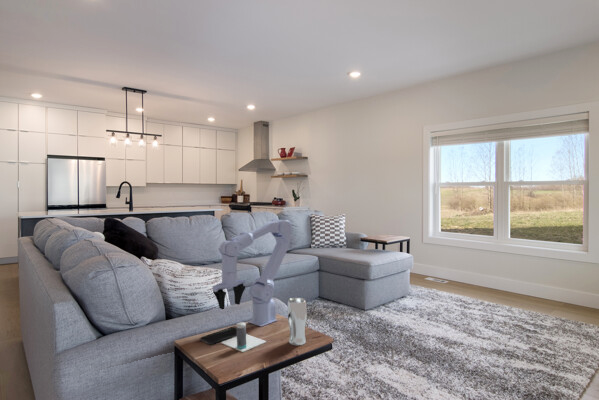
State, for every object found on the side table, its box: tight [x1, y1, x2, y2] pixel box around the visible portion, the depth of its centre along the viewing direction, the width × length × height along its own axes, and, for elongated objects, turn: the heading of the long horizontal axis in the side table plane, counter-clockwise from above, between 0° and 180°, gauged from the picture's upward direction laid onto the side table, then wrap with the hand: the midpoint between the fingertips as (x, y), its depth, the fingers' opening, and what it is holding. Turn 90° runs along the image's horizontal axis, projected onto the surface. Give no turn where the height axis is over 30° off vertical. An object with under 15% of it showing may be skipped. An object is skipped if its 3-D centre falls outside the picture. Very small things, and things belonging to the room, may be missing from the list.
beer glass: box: [286, 297, 308, 346], centre depth 128 cm, size 7×7×15 cm
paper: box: [220, 333, 267, 353], centre depth 128 cm, size 11×12×1 cm
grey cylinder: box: [235, 321, 247, 349], centre depth 123 cm, size 3×3×8 cm
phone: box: [199, 326, 237, 346], centre depth 134 cm, size 8×1×15 cm
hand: (229, 306), depth 140 cm, fingers open, 7 cm apart
